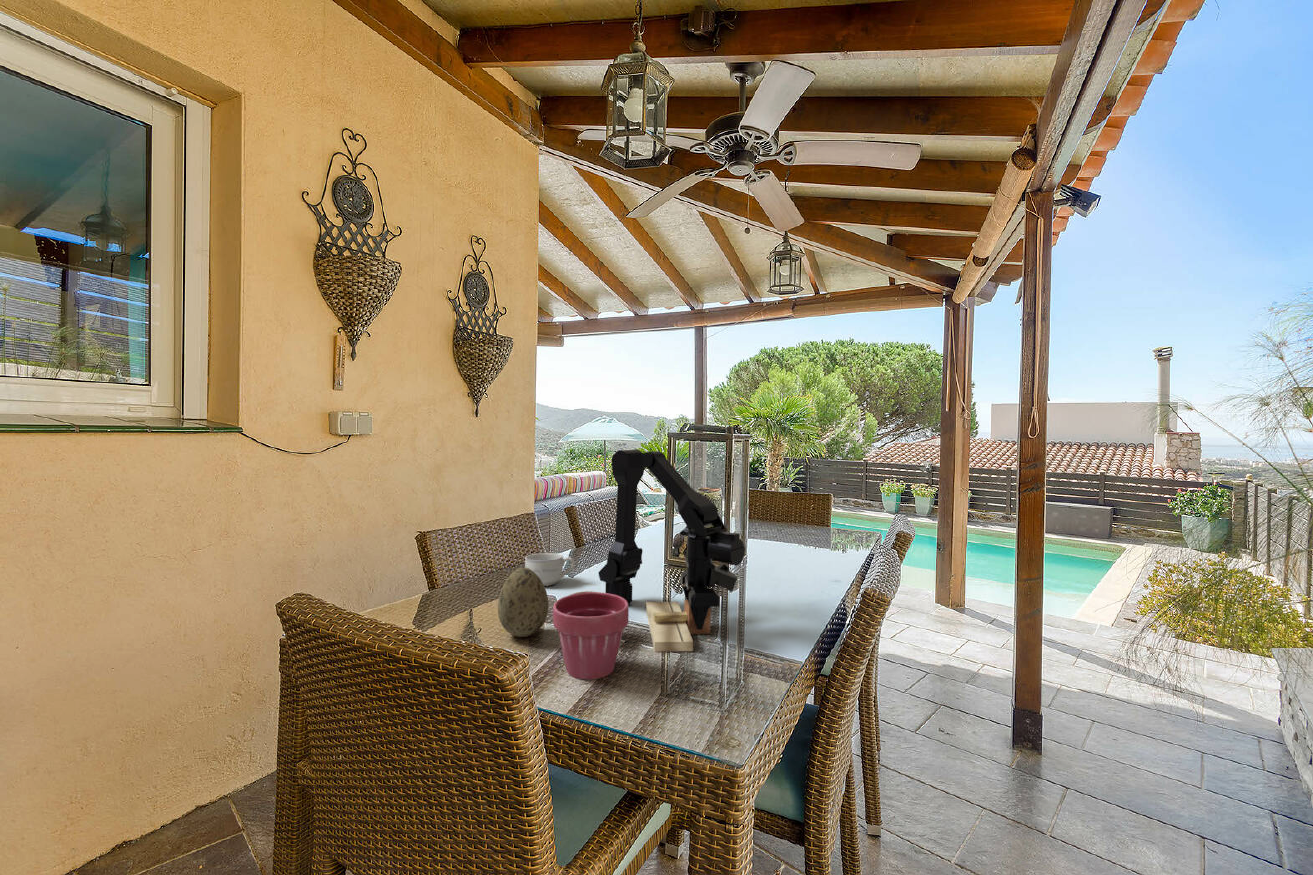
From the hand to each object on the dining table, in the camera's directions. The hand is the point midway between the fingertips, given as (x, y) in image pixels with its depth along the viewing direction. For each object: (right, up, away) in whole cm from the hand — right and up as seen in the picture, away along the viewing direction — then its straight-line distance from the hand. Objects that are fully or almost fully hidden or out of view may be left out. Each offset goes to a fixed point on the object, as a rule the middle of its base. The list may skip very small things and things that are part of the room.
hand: (697, 624), depth 131 cm
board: (-7, -1, 0) cm, 7 cm away
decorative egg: (-39, -1, -6) cm, 39 cm away
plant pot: (-22, -2, -21) cm, 31 cm away
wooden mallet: (-4, -1, -1) cm, 4 cm away
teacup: (-40, +1, +32) cm, 51 cm away
